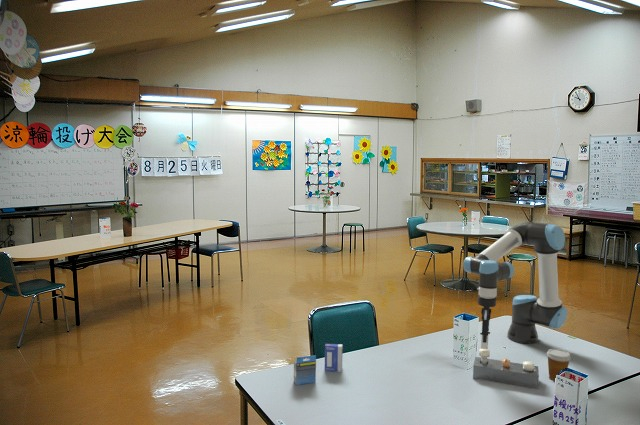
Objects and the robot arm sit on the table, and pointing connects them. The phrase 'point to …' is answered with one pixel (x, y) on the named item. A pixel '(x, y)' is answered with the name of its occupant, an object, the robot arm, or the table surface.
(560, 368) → the disposable coffee cup
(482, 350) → the knob
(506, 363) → the dial
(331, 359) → the walkman
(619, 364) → the table surface
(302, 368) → the label tape box
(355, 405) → the table surface
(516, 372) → the console
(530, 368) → the knob
